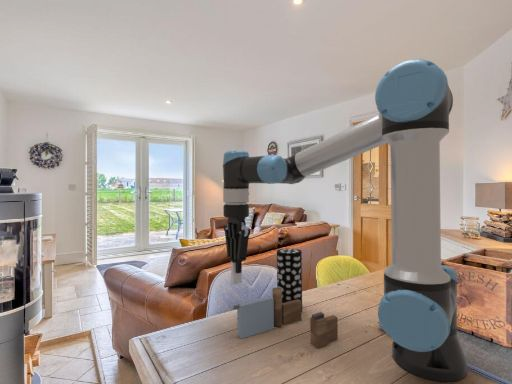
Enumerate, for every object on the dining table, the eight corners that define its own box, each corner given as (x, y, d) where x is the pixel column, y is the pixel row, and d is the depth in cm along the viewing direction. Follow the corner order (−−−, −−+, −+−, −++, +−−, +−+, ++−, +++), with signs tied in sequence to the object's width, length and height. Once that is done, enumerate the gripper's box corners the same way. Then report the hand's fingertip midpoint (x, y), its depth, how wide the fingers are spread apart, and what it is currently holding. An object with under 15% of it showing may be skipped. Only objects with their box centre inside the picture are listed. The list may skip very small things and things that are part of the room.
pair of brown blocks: (339, 340, 81) (339, 299, 80) (309, 351, 75) (309, 308, 75) (298, 316, 95) (298, 282, 95) (271, 325, 90) (270, 288, 90)
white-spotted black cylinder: (301, 316, 96) (301, 254, 96) (275, 314, 97) (275, 253, 97) (302, 306, 104) (302, 248, 104) (279, 304, 106) (278, 248, 105)
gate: (270, 326, 89) (269, 296, 89) (273, 328, 88) (273, 298, 88) (232, 337, 83) (232, 304, 83) (236, 340, 81) (235, 307, 81)
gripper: (258, 204, 85) (258, 287, 85) (237, 202, 96) (237, 275, 96) (235, 205, 81) (235, 291, 81) (215, 202, 92) (215, 279, 92)
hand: (236, 282), depth 89 cm, fingers closed
